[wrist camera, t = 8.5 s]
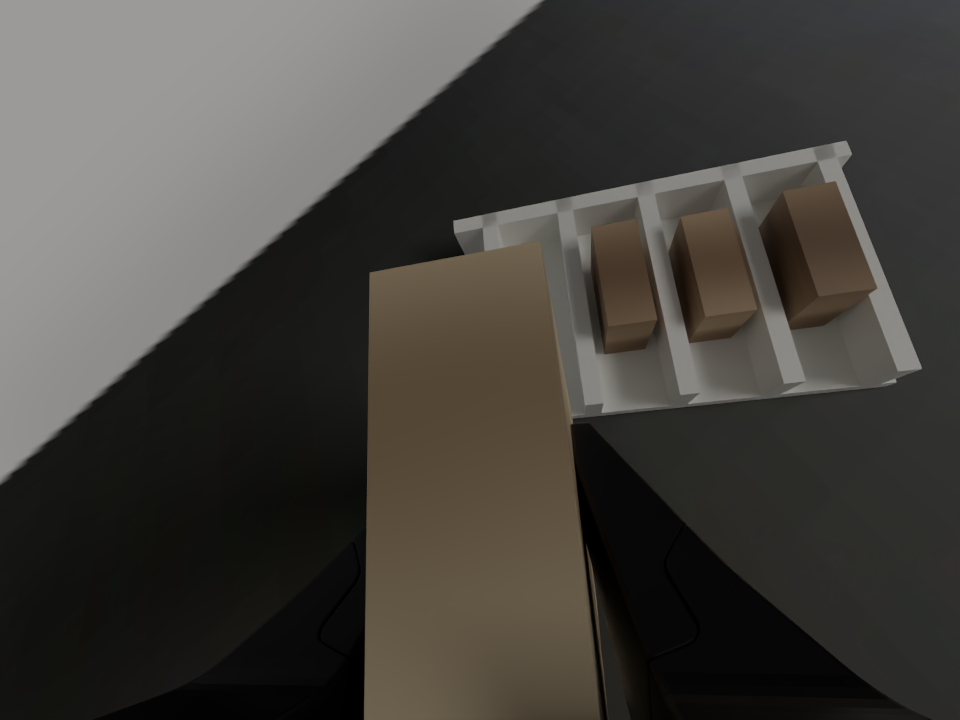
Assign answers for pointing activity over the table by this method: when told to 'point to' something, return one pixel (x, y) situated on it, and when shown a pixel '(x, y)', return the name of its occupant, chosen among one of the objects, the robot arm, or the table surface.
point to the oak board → (474, 501)
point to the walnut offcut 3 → (815, 255)
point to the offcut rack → (668, 355)
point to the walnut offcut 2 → (710, 276)
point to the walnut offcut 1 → (621, 287)
